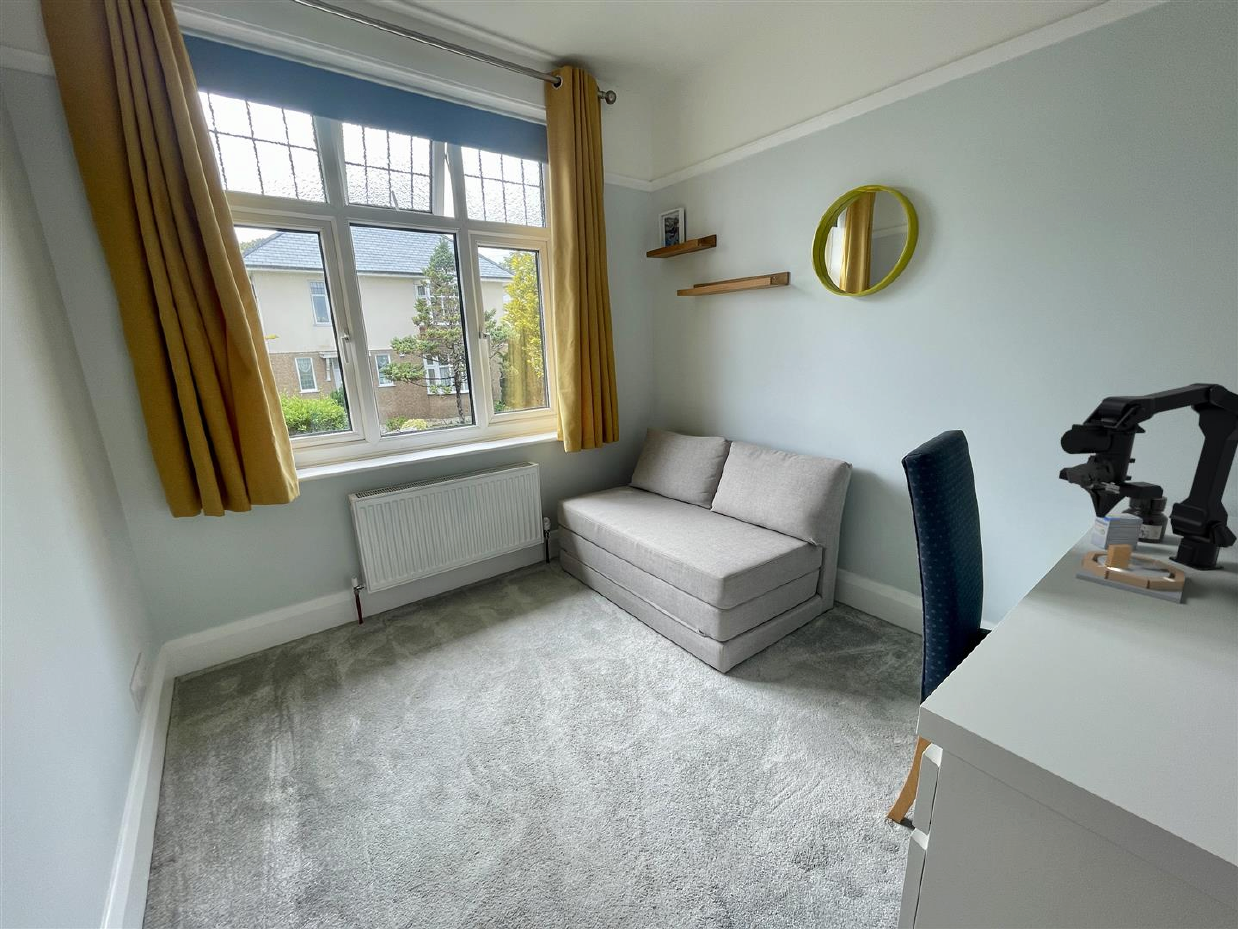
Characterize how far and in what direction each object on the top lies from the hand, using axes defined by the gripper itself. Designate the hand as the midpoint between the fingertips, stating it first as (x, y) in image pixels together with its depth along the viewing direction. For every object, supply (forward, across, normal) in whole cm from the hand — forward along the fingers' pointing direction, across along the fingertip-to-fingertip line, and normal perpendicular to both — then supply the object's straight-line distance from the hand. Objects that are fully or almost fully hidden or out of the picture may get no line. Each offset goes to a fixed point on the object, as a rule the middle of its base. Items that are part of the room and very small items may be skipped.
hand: (1100, 517), depth 115 cm
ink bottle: (+13, -17, +31) cm, 38 cm away
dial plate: (+13, +5, +4) cm, 15 cm away
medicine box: (+13, -12, +18) cm, 25 cm away
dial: (+12, +5, +4) cm, 14 cm away
